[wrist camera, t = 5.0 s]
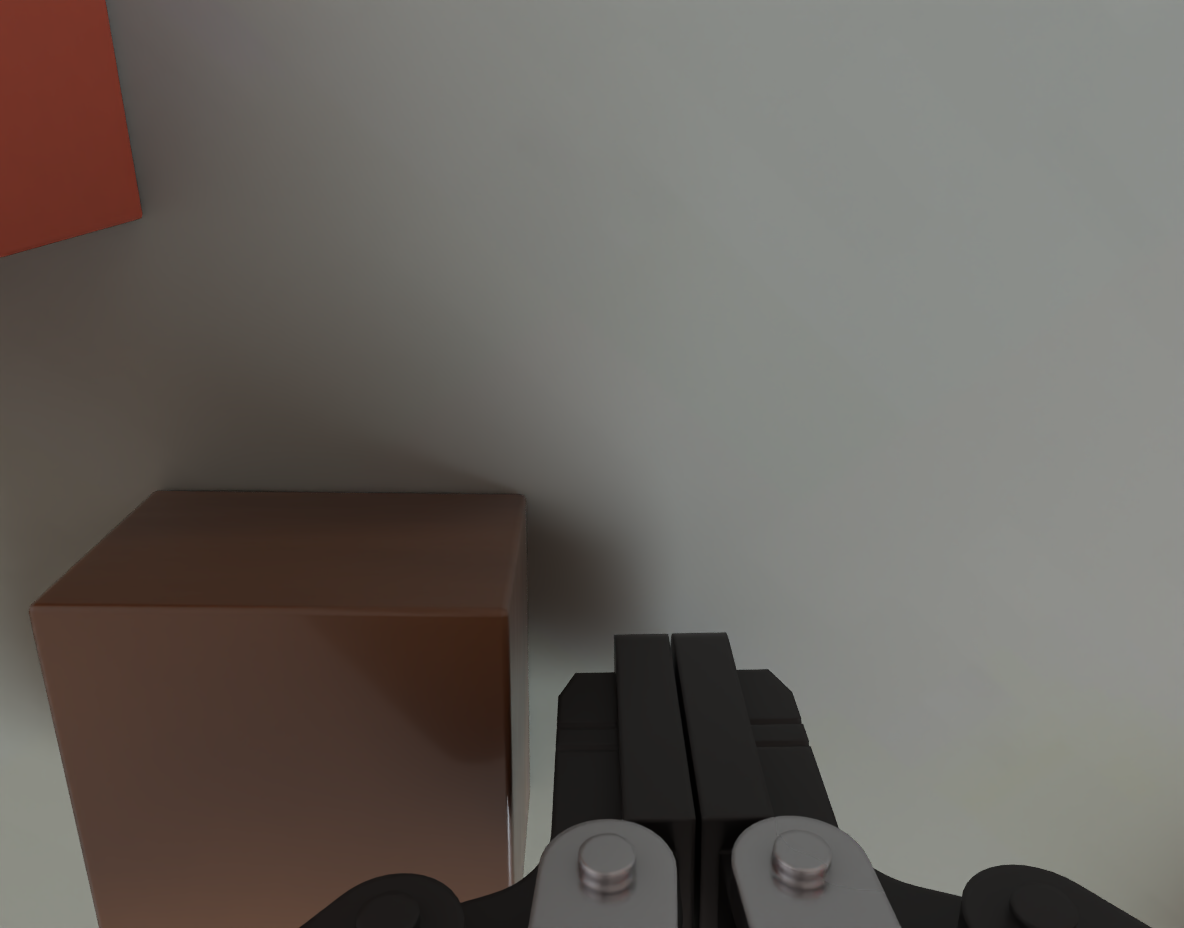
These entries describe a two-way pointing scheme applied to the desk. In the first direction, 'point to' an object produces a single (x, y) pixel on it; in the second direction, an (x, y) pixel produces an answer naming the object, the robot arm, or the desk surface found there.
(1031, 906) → the robot arm
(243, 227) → the desk surface
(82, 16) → the brick-red block
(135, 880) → the brown wooden block
